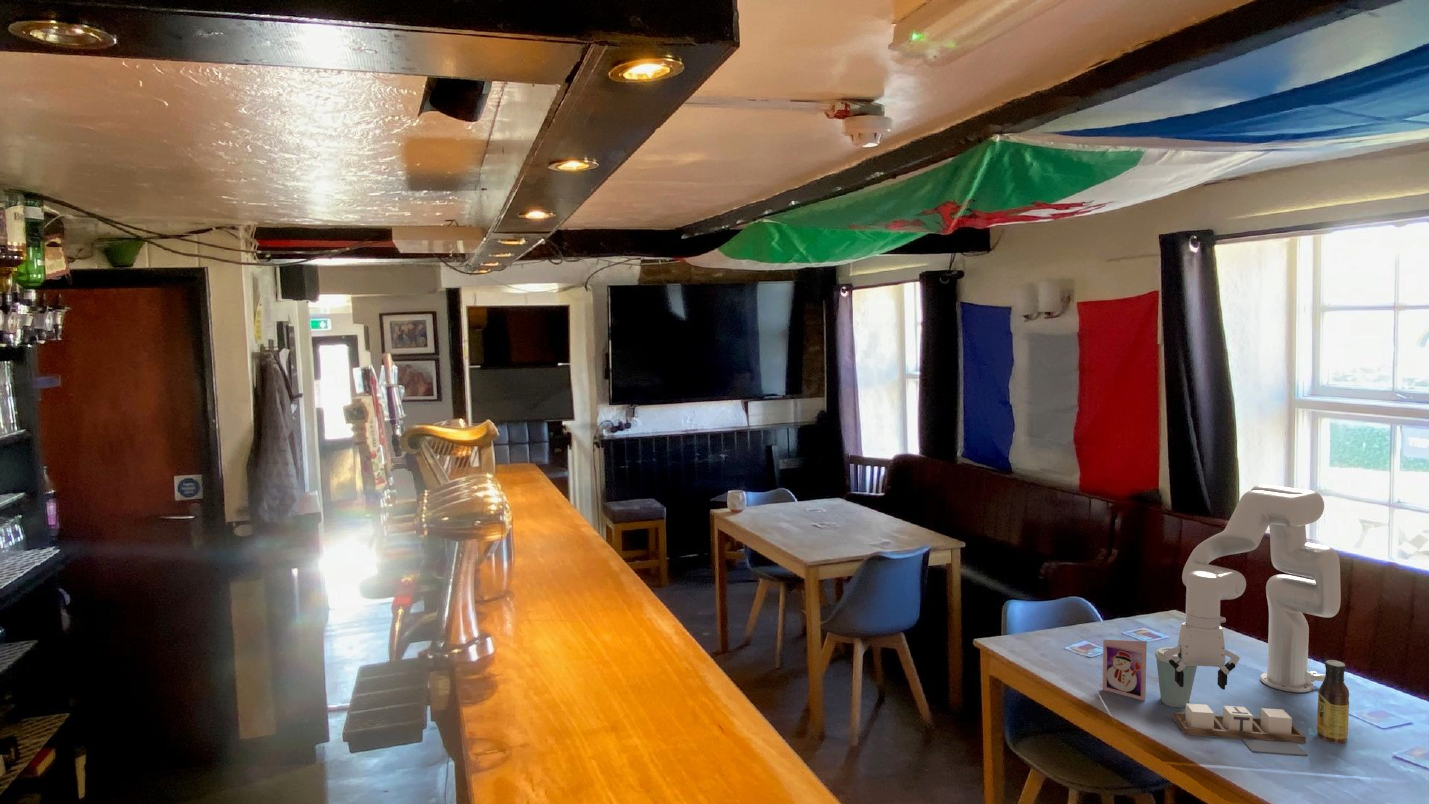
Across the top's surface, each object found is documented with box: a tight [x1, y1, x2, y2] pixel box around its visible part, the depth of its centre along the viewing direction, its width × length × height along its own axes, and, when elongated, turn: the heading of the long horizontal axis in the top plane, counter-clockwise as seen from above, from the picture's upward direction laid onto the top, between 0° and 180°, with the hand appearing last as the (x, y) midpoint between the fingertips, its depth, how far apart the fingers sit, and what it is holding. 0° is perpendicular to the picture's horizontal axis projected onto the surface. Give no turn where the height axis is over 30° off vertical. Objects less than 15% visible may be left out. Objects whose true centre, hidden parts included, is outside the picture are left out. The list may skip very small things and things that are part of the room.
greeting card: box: [1102, 639, 1148, 702], centre depth 242 cm, size 11×7×15 cm, turn 45°
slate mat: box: [1241, 738, 1309, 757], centre depth 209 cm, size 12×6×1 cm, turn 78°
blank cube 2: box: [1260, 707, 1293, 734], centre depth 217 cm, size 5×5×5 cm
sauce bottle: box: [1316, 659, 1350, 744], centre depth 213 cm, size 6×6×20 cm
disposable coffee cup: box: [1154, 646, 1198, 708], centre depth 235 cm, size 11×11×15 cm
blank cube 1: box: [1185, 703, 1215, 729], centre depth 220 cm, size 5×5×5 cm
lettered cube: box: [1222, 705, 1254, 732], centre depth 219 cm, size 5×5×5 cm
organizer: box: [1172, 711, 1307, 744], centre depth 219 cm, size 27×10×2 cm, turn 78°
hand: (1200, 686), depth 220 cm, fingers open, 9 cm apart
